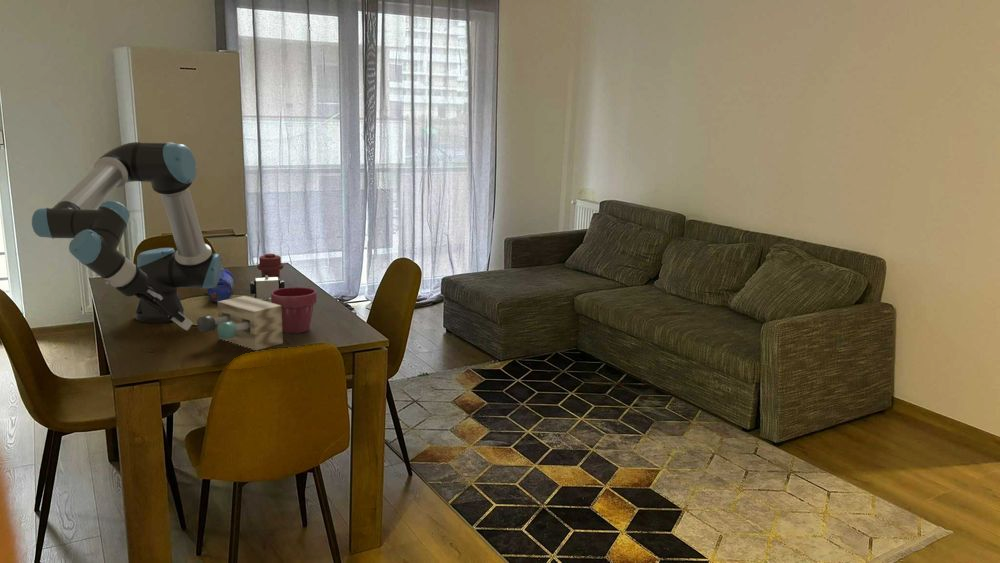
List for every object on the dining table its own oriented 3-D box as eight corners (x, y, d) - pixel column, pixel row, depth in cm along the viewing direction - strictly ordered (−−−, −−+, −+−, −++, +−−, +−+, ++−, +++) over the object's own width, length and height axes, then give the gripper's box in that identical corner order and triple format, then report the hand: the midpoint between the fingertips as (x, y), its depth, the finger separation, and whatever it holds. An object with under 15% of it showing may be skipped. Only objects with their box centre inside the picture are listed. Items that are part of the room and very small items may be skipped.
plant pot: (287, 321, 264) (286, 284, 261) (325, 325, 260) (324, 288, 257) (263, 332, 250) (262, 294, 247) (302, 337, 246) (301, 298, 244)
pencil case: (211, 290, 304) (210, 266, 301) (235, 289, 306) (233, 265, 304) (207, 304, 283) (206, 278, 281) (232, 303, 285) (231, 277, 283)
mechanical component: (272, 280, 322) (289, 284, 316) (252, 284, 313) (269, 288, 308) (271, 251, 319) (288, 254, 314) (251, 254, 311) (268, 257, 305)
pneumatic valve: (285, 309, 279) (284, 276, 276) (251, 311, 275) (249, 278, 272) (284, 305, 284) (283, 273, 281) (250, 307, 280) (249, 274, 277)
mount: (255, 350, 233) (253, 311, 230) (219, 338, 243) (217, 301, 240) (282, 343, 240) (281, 305, 238) (246, 331, 251) (244, 295, 248)
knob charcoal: (206, 334, 232) (206, 318, 231) (197, 331, 234) (196, 315, 233) (242, 325, 241) (241, 310, 240) (232, 322, 244) (232, 308, 243)
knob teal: (227, 341, 226) (226, 325, 225) (217, 337, 229) (216, 322, 228) (262, 331, 236) (262, 316, 235) (252, 328, 238) (252, 313, 237)
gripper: (103, 284, 203) (167, 332, 219) (129, 292, 195) (194, 341, 212) (121, 261, 206) (183, 311, 223) (148, 268, 198) (210, 319, 215)
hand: (188, 326), depth 217 cm, fingers closed
